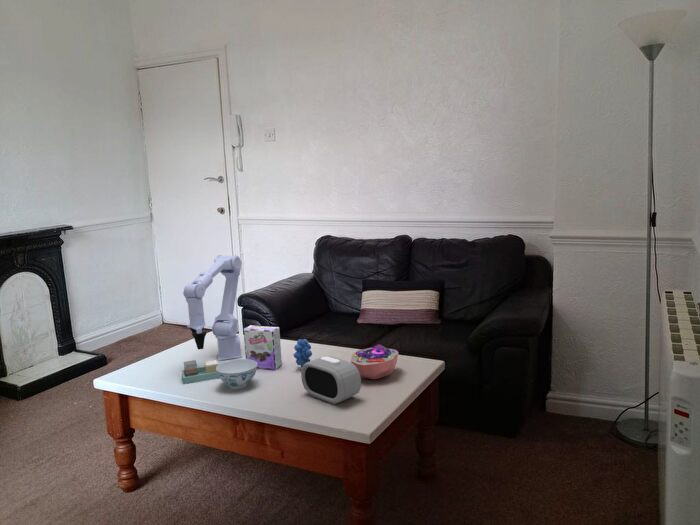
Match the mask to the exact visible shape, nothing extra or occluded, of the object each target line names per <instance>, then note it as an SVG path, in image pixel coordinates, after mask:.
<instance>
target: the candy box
mask: <svg viewBox="0 0 700 525" xmlns="http://www.w3.org/2000/svg"><path fill="white" fill-rule="evenodd" d="M242 331H243V339H244V340H243V341H244V343H243V344H244V352H245V354H244V355H245V359H250V360H254V361H256V362H257V369H260V370H272V371H276V370H278V369H280V368H281V367H282V366H283V363H282V346H281V333H280V331H281V329H280V327H279V326H263V325H262V326H261V325H252V324H251V325H249V326H246V327H244V328H243V330H242Z"/></svg>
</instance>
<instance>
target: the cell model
mask: <svg viewBox="0 0 700 525" xmlns="http://www.w3.org/2000/svg"><path fill="white" fill-rule="evenodd" d="M398 356H399V351H398V350H397V349H395V348H394V349H393V348H387V347H385V346H383V345H381V344H376V345H374V346H373V347H367V348H363V349H360V350H356V351H355V352H354V353H353V354H352V355H351V359H350V363H352V364H354V365H355V366H356V367H357V369H358V371H359V373H360V377H361V378H364V379H371V380H378V379H380V378H385V377H387V376H389V375H391V374H392V373H393V371H394V370H395V368H396V366H397V364H398V363H397V362H398Z"/></svg>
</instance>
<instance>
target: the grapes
mask: <svg viewBox="0 0 700 525" xmlns="http://www.w3.org/2000/svg"><path fill="white" fill-rule="evenodd" d="M293 349H294V350H295V352H294V353H293V357H294V358H295V359H296V360H295V363H296V364H297V366H300V367H301V368H302V367H303V365H304V364H305V363H307V362H310V361H311V359H310V358H311V357H312V355H313V352H312V350H311V349H312V345H311V344H310V343H309V341H308V340H307V339H306V338H299V339H298V340H297V342H296V344H295V345H294V347H293Z"/></svg>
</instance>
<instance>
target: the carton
mask: <svg viewBox="0 0 700 525" xmlns="http://www.w3.org/2000/svg"><path fill="white" fill-rule="evenodd" d="M218 364H219V362H218V361H217V359H216V360H215V359H214V360H209V361H204V367H205V369H206V373H213V372H217V371H216V367H217V366H218Z"/></svg>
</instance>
